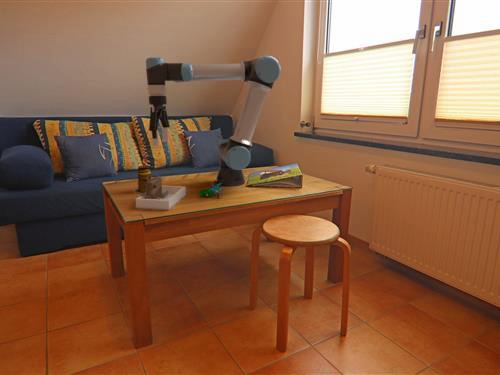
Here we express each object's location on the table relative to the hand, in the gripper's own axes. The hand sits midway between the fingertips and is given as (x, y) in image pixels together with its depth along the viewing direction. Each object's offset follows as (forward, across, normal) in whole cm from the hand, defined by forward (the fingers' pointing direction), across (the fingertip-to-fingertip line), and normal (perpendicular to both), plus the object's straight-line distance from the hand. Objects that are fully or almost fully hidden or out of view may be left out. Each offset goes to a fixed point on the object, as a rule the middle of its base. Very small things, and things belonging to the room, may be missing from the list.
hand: (161, 143), depth 157 cm
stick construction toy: (+24, +3, +23) cm, 34 cm away
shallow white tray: (+23, +13, +3) cm, 27 cm away
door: (+23, +13, 0) cm, 26 cm away
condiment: (+23, -2, -11) cm, 26 cm away
